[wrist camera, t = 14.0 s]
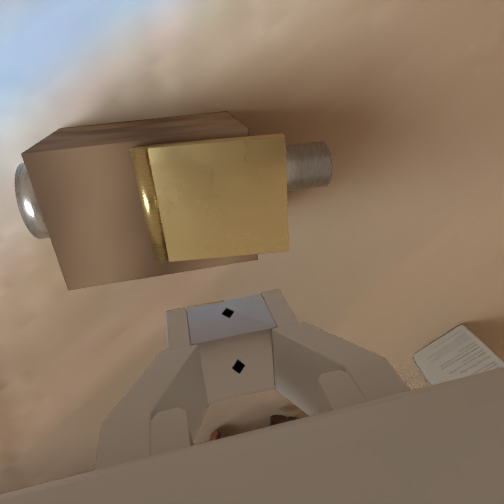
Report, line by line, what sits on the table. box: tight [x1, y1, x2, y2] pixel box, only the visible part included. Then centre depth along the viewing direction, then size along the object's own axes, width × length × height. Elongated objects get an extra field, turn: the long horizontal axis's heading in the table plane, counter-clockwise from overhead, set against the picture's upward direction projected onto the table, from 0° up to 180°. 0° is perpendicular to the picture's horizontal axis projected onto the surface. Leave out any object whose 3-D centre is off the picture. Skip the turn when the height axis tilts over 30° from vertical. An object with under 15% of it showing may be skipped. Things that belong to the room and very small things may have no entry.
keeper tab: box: [129, 133, 289, 263], centre depth 18 cm, size 7×6×1 cm
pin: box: [15, 141, 332, 239], centre depth 22 cm, size 16×4×4 cm, turn 94°
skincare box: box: [413, 325, 504, 385], centre depth 33 cm, size 8×6×15 cm
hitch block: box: [21, 111, 258, 290], centre depth 22 cm, size 10×7×7 cm
